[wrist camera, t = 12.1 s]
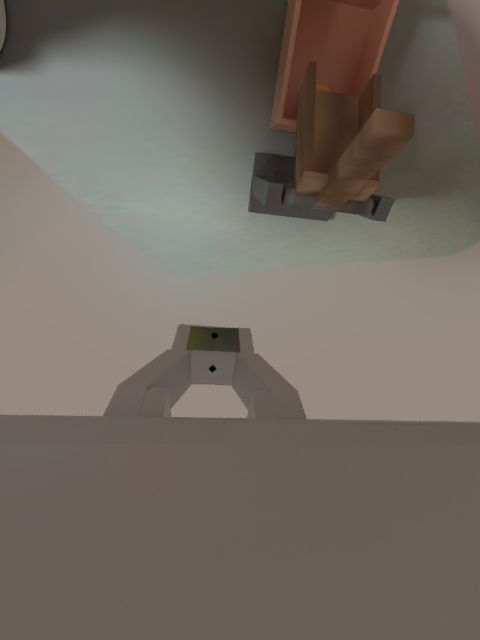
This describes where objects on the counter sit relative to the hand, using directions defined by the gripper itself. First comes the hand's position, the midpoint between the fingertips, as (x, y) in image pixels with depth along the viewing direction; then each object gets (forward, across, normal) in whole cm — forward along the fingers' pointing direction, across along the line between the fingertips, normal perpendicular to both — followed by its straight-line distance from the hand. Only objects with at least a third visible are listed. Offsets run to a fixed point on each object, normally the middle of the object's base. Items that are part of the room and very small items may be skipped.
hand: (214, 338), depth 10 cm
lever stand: (+37, +12, +4) cm, 39 cm away
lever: (+25, +12, +8) cm, 29 cm away
